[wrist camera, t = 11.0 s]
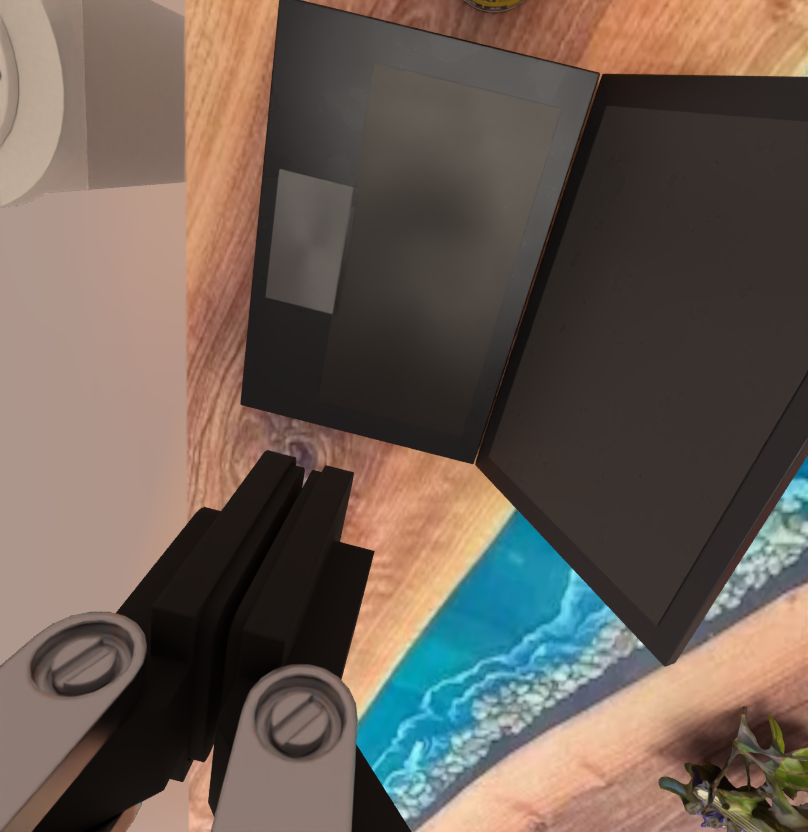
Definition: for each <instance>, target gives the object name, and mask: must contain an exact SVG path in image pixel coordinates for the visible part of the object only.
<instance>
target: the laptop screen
mask: <svg viewBox="0 0 808 832" xmlns="http://www.w3.org/2000/svg"><path fill="white" fill-rule="evenodd" d="M807 456H808V77H785V76H720V75H655V74H603V75H602V77H601V80H600V83H599V86H598V89H597V92H596V96H595V99H594V102H593V105H592V108H591V111H590V114H589V117H588V120H587V123H586V126H585V129H584V132H583V135H582V138H581V141H580V145H579V148H578V151H577V154H576V157H575V160H574V163H573V166H572V169H571V172H570V175H569V178H568V181H567V184H566V187H565V191H564V194H563V197H562V200H561V203H560V206H559V209H558V212H557V215H556V218H555V221H554V224H553V227H552V230H551V233H550V237H549V240H548V243H547V246H546V249H545V252H544V255H543V258H542V261H541V264H540V267H539V270H538V273H537V276H536V279H535V282H534V286H533V289H532V292H531V295H530V298H529V301H528V304H527V307H526V310H525V313H524V316H523V319H522V322H521V325H520V328H519V332H518V335H517V338H516V341H515V344H514V347H513V350H512V353H511V356H510V359H509V362H508V365H507V368H506V371H505V374H504V378H503V381H502V384H501V387H500V390H499V393H498V396H497V399H496V402H495V405H494V408H493V411H492V414H491V417H490V420H489V423H488V427H487V430H486V433H485V436H484V439H483V442H482V445H481V448H480V451H479V454H478V457H477V460H476V463H475V465H476V466H477V467H478V468H479V469H480V471H481V472H482V473H483V474H484V475H485V476H486V477H487V478H488V479H489V480H490V481H491V482H492V483H493V484H494V485H495V487H496V488H497V489H498V490H499V491H500V492H501V493H502V494H503V495H504V496H505V497H506V498H507V499H508V500H509V501H510V502H511V504H512V505H513V506H514V507H515V508H516V509H517V510H518V511H519V512H520V513H521V514H522V515H523V516H524V517H525V518H526V520H527V521H528V522H529V523H530V524H531V525H532V526H533V527H534V528H535V529H536V530H537V531H538V532H539V533H540V534H541V536H542V537H543V538H544V539H545V540H546V541H547V542H548V543H549V544H550V545H551V546H552V547H553V548H554V549H555V550H556V552H557V553H558V554H559V555H560V556H561V557H562V558H563V559H564V560H565V561H566V562H567V563H568V564H569V565H570V566H571V568H572V569H573V570H574V571H575V572H576V573H577V574H578V575H579V576H580V577H581V578H582V579H583V580H584V581H585V582H586V584H587V585H588V586H589V587H590V588H591V589H592V590H593V591H594V592H595V593H596V594H597V595H598V596H599V597H600V598H601V600H602V601H603V602H604V603H605V604H606V605H607V606H608V607H609V608H610V609H611V610H612V611H613V612H614V613H615V614H616V616H617V617H618V618H619V619H620V620H621V621H622V622H623V623H624V624H625V625H626V626H627V627H628V628H629V629H630V630H631V631H632V633H633V634H634V635H635V636H636V637H637V638H638V639H639V640H640V641H641V642H642V643H643V644H644V645H645V646H646V647H647V649H648V650H649V651H650V652H651V653H652V654H653V655H654V656H655V657H656V658H657V659H658V660H659V661H660V662H661V663H662V665H663V666H668V665H671V664H674V663H675V662H676V661H677V659H678V658H679V656H680V655H681V653H682V651H683V650H684V648H685V647H686V645H687V644H688V642H689V640H690V639H691V637H692V636H693V634H694V633H695V631H696V629H697V628H698V626H699V625H700V623H701V622H702V620H703V619H704V617H705V615H706V614H707V612H708V611H709V609H710V608H711V606H712V604H713V603H714V601H715V600H716V598H717V597H718V595H719V593H720V592H721V590H722V589H723V587H724V586H725V584H726V583H727V581H728V579H729V578H730V576H731V575H732V573H733V572H734V570H735V568H736V567H737V565H738V564H739V562H740V561H741V559H742V557H743V556H744V554H745V553H746V551H747V550H748V548H749V547H750V545H751V543H752V542H753V540H754V539H755V537H756V536H757V534H758V532H759V531H760V529H761V528H762V526H763V525H764V523H765V521H766V520H767V518H768V517H769V515H770V514H771V512H772V511H773V509H774V507H775V506H776V504H777V503H778V501H779V500H780V498H781V496H782V495H783V493H784V492H785V490H786V489H787V487H788V485H789V484H790V482H791V481H792V479H793V478H794V476H795V475H796V473H797V471H798V470H799V468H800V467H801V465H802V464H803V462H804V460H805V459H806V457H807Z"/></svg>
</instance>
